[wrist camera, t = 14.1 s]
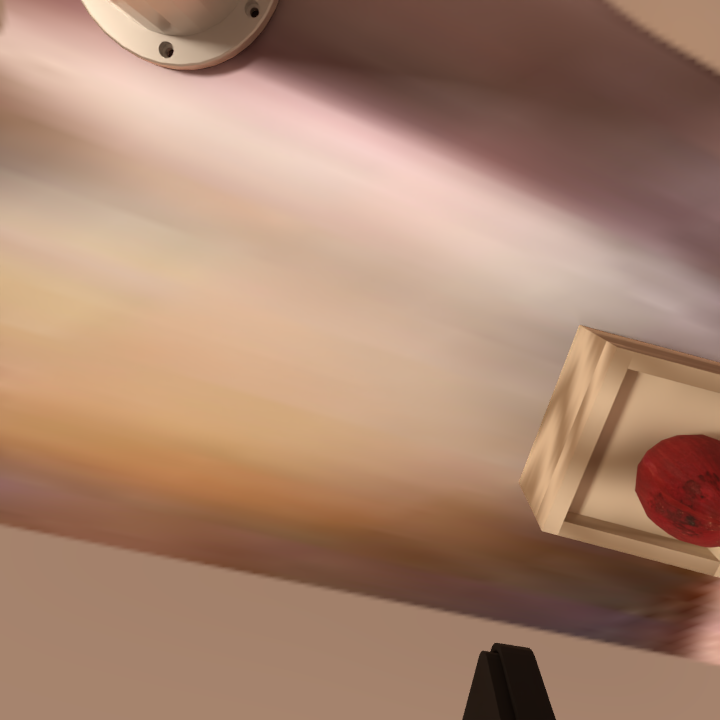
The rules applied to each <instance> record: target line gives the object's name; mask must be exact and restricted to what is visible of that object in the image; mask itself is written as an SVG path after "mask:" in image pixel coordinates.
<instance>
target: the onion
mask: <svg viewBox="0 0 720 720" xmlns="http://www.w3.org/2000/svg"><path fill="white" fill-rule="evenodd" d="M635 492H636V494H637V496H638V498H639V500H640V502H641V504H642V507H643V509H644V511H645V513H646V515H647V517H648V518H649V519H650V520H651V521H652V522H654V523H655V524H656V525H657V526H658V527H660V528H661V529H662V530H664V531H665V532H666V533H668V534H669V535H671V536H672V537H674V538H676V539H678V540H680V541H683V542H687V543H690V544H694V545H698V546H701V547H710V548H712V547H720V440H717V439H714V438H711V437H708V436H706V435H703V434H698V435H676V436H673V437H670V438H667V439H664V440H661V441H660V442H659V443H657V444H656V445H655V446H653V447H652V448H651V449H649V450H648V451H647V452H646V453H645V455H644V456H643V458H642V460H641V461H640V463H639V464H638V466H637V475H636V485H635Z"/></svg>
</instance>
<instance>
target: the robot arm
mask: <svg viewBox="0 0 720 720" xmlns="http://www.w3.org/2000/svg"><path fill="white" fill-rule="evenodd" d="M278 1H279V0H81V2H82V3H83V5H84V7H85V8H86V10H87V12H88V13H89V15H90V16H91V17H92V19H93V20H94V21H95V22H96V23H97V24H98V26H99V27H100V28H101V29H102V30H103V31H104V33H105V34H107V35H108V36H109V37H110V38H111V39H113V40H114V41H115V42H116V43H117V44H119V45H120V46H121V47H122V48H124V49H126V50H127V51H129V52H130V53H132V54H134V55H135V56H137V57H139V58H141V59H143V60H145V61H148V62H150V63H152V64H155V65H157V66H162V67H166V68H171V69H175V70H197V69H202V68H206V67H211V66H215V65H218V64H220V63H222V62H224V61H226V60H229V59H231V58H233V57H234V56H236V55H237V54H238V53H240V52H241V51H242V50H244V49H245V48H246V47H248V46H249V45H250V44H251V43H252V42H253V41H254V40H255V39H256V37H257V36H258V35H259V34H260V33H261V32H262V31H263V30H264V28H265V26H266V25H267V23H268V21H269V20H270V18H271V16H272V15H273V13H274V11H275V9H276V7H277V4H278ZM254 10H258V11H259V15H258V16H257V17H256V18H253V17H252V13H253V11H254ZM170 50H174V52H173V55H172V56H171V57H169V55H168V54H169V51H170ZM463 720H556V719H555V716H554V713H553V710H552V707H551V704H550V701H549V698H548V695H547V692H546V689H545V686H544V683H543V680H542V677H541V674H540V671H539V668H538V665H537V662H536V659H535V656H534V654H533V652H532V650H531V649H530V648H526V647H520V646H513V645H506V644H500V643H494V645H493V646H492V649H491V651H490V652H488V651H482V652H481V653H480V656H479V659H478V663H477V666H476V670H475V674H474V678H473V682H472V685H471V689H470V693H469V697H468V701H467V705H466V708H465V712H464V716H463Z"/></svg>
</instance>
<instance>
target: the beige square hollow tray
mask: <svg viewBox="0 0 720 720" xmlns="http://www.w3.org/2000/svg"><path fill="white" fill-rule="evenodd" d="M698 434H703V435H706V436H708V437H711V438H714V439H717V440H720V363H719V362H715V361H712V360H708V359H704V358H700V357H697V356H693V355H689V354H686V353H682V352H678V351H674V350H671V349H667V348H663V347H660V346H656V345H652V344H648V343H645V342H641V341H637V340H634V339H630V338H626V337H622V336H619V335H615V334H611V333H608V332H604V331H600V330H596V329H593V328H589V327H585V326H582V325H579V327H578V330H577V332H576V335H575V338H574V340H573V343H572V345H571V348H570V351H569V353H568V356H567V358H566V361H565V364H564V366H563V369H562V371H561V374H560V377H559V379H558V382H557V384H556V387H555V390H554V392H553V395H552V397H551V400H550V403H549V405H548V408H547V410H546V413H545V415H544V418H543V421H542V423H541V426H540V428H539V431H538V434H537V436H536V439H535V441H534V444H533V447H532V449H531V452H530V454H529V457H528V460H527V462H526V465H525V467H524V470H523V473H522V475H521V478H520V480H519V484H520V486H521V488H522V490H523V492H524V495H525V497H526V499H527V501H528V503H529V505H530V507H531V509H532V511H533V513H534V515H535V517H536V519H537V522H538V524H539V526H540V528H541V530H542V531H544V532H548V533H552V534H555V535H559V536H563V537H567V538H571V539H575V540H578V541H582V542H586V543H590V544H594V545H597V546H601V547H605V548H609V549H613V550H617V551H620V552H624V553H628V554H632V555H636V556H640V557H643V558H647V559H651V560H655V561H659V562H662V563H666V564H670V565H674V566H678V567H682V568H685V569H689V570H693V571H697V572H701V573H705V574H708V575H712V576H716V577H720V547H712V548H710V547H701V546H698V545H694V544H690V543H687V542H683V541H680V540H678V539H676V538H674V537H672V536H671V535H669V534H668V533H666V532H665V531H664V530H662V529H661V528H660V527H658V526H657V525H656V524H655V523H654V522H652V521H651V520H650V519H649V518H648V517H647V515H646V513H645V511H644V509H643V507H642V504H641V502H640V500H639V498H638V496H637V494H636V492H635V485H636V475H637V466H638V464H639V463H640V461H641V460H642V458H643V456H644V455H645V453H646V452H647V451H648V450H649V449H651V448H652V447H653V446H655V445H656V444H657V443H659V442H660V441H661V440H664V439H667V438H670V437H673V436H676V435H698Z"/></svg>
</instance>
